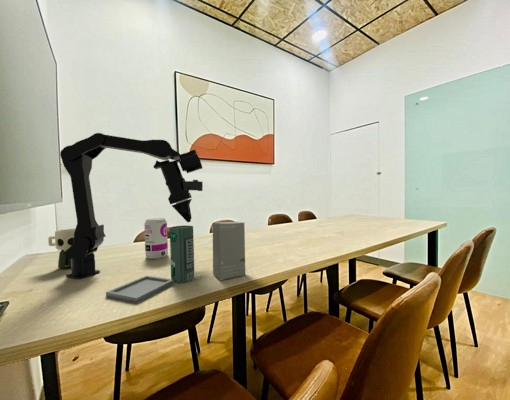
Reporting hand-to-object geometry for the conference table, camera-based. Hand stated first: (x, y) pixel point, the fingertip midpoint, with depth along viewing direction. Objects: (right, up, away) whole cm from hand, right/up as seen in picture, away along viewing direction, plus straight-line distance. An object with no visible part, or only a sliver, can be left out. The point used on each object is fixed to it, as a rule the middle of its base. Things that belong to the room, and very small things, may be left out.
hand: (189, 220), depth 80 cm
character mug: (-43, -17, +2) cm, 46 cm away
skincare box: (+15, -15, -11) cm, 24 cm away
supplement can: (-17, -16, +13) cm, 26 cm away
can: (+2, -16, -14) cm, 21 cm away
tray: (-6, -16, -21) cm, 27 cm away
